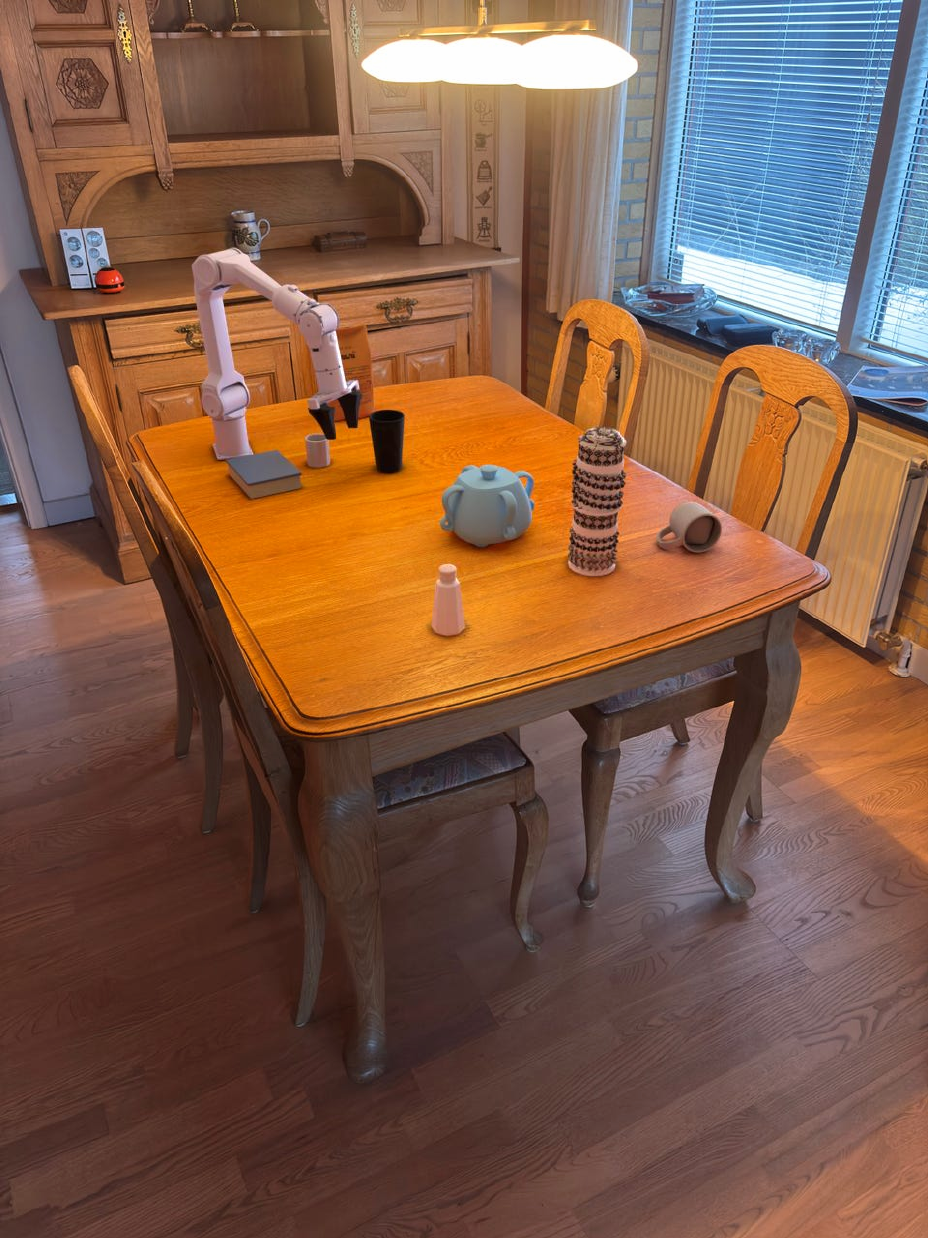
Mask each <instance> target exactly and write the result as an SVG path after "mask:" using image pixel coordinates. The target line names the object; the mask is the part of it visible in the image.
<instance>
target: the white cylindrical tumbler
mask: <svg viewBox="0 0 928 1238" xmlns="http://www.w3.org/2000/svg"><path fill="white" fill-rule="evenodd" d="M304 443H305V453H306V463H307V466H308V467H310V468H313V469H314V468H315V469H319V468H320V469H321V468H326V467H328V466H329V465H330V464H331V453H330V440H327V439H326V437H325V435H324V433H312V434H308V435H307V436H305V437H304Z"/></svg>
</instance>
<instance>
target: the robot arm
mask: <svg viewBox="0 0 928 1238" xmlns="http://www.w3.org/2000/svg"><path fill="white" fill-rule="evenodd" d="M191 269H192V276H193V281H194V282H193V293H194V298H195V304H196V308H197V314H198V320H199V325H200V331H201V336H202V341H203V346H204V352H205V357H206V364H207V368H208V374H207V376H206V377H205V379H204V380H203V382H202V384H201V390H202V394H201V406H202V408H203V410H204V412H205V414H206V415H207V416H208V417H209V419H211V421H212V426H213V433H214V435H213V436H214V440H215V443H213V444H212V448H213V451H214V453H215V456H216V459H217V461H222V460H228V459H233V458H238V457H243V456H248V455H253V454H254V452H253V450H252V448H251V444H250V443H249V436H248V430H247V429H248V428H247V422H246V413H247V407H248V406H249V404H250V402H251V394H250V390H249V388H248V387H247V385H246V382H245V377H244V375H243V374H241V373H240V372H238V371H237V370H236V369H235V364H234V358H233V352H232V346H231V341H230V334H229V330H228V329H229V328H228V323H227V317H226V311H225V306H224V299H223V298H224V297H223V296H224V295H225V294H226V292H227V291H228V290H229V289H230V288H231V286H233V285H239V284H242V285H244V286H246V288H248V289H251V290H252V291H254V292H256V293H257V294H260V295H261V296H263V297H265V298H266V299H268V300H270V301H271V302H272V306H273V309H274V311H276V312H277V313H278V314H280V315H282V316H283V317H285V318H286V319H288V320H289V321H290V322H292V323H294V324H295V325H297V328H298V330H299V332H300V335H302V336H303V338H304V339H305V342H306V346H307V347H308V349H309V352H310V357H311V360H312V366H313V370H314V374H315V375H314V376H315V379H316V384H317V388H318V389H317V390H318V391H317V392H316V393H315V394H314V395H313V396H312V397H310V398H309V399H307V405H308V408H307V409H308V413H309V414H310V415H311V417H312V418H313V419H314V420H315V421H316V422H317V424H318V426H319V428H320V430H321V431H322V434H324V435H325V437H326V439H327V440H329V441H336V440H337V431H336V425H335V421H334V414H335V407H329V406H328V405H327V403H329V402H331V401H333V400H335V399H338V401H339V403H340V405H341V407H342V410H343V413H344V416H345V419H344V420H345V424H346V426H347V428H348V429H358V427H359V419H358V412H359V406H360V402H361V399H362V392H361V391H356V390H358V389H359V385H358V380H350V381H347V382H346V380H345V375H344V370H343V366H342V360H341V356H340V351H339V346H338V341H337V336H336V330H337V329H338V328H340V316H339V313H338V311H337V310H336V308H334V307H333V306H332V305H331V304H330V303H329V302H322V303H320V302H317V300H316V299H314V298H311V297H309V296H307V295H306V294H305V293H303V292H302V291H300V290H298V289H299V287H298V286H297V285H295V284H284V285H281V284H279V283H278V282H277V281H276V280H274V279H273V278H272V277H270V276H269V275H268V274H267V273H265V272H264V271H263V270H262V269H260V268H259V267H257V266H256V265H255V264H254V263H252V262H251V259H250V255H248V254H246V253H244V252H242V251H241V250H240V249H238V248H237V247H230V248H227V249H225V250H221V251H216V252H213V253H209V254H202V255H199V256H198V257H197V258H196V259H195V260H194V262H193V263H192V264H191Z"/></svg>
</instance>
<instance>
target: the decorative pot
mask: <svg viewBox="0 0 928 1238" xmlns="http://www.w3.org/2000/svg"><path fill="white" fill-rule="evenodd" d="M521 478H526V485H525V486H524V485H523V483H522V481H521ZM534 485H535V480H534V476H532V474H530V473H529V472H527V471H523V470H518V471H516V472H515V471H514V472H513V471H511V470H510V469H508V468H506V467H503V466H497V465H494V464H483V465H481V466H480V467H477V466H476V465H472V464H471V465H470V464H469V465H466V466H464V467H463V468H462V470H461V473H460V474H459V475H457V477H456V479H455V481H454V482H453V484H452V485H451V486H448V487H447V488H446V489H445V490H443V492H442V494H441V505H442V508H443V511H444V517H442V518H441V519H440V521H439V527H440V529H441V530H442V531H446V532H451V531H452V532H453V533H454V534H455V535H456V536H457V537H459V538H460V539H461V540H463V541H465V542H466V543H468V544H472V545H474V546H475V547H477V548H485V547H488V545H492V544H493V545H495V544H500V543H504V542H509V541H513V540H514V541H515V540H516V539H518V538H519V537H520V536H522V535H523V534H524V533H525V532H526V531H527V530H528V529H529V527H530V526H531V523H532V521H533V514H532V513H533V511H534V509H535V507H536V505H535V504H536V503H535V502H534V500H533V499H531V495H532V494H533V489H534ZM446 523H447V524H446Z"/></svg>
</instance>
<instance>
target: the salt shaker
mask: <svg viewBox="0 0 928 1238" xmlns="http://www.w3.org/2000/svg"><path fill="white" fill-rule="evenodd" d="M438 572H439V573H438V577H439V578H438V579H437V580H436V581H435V586H434V597H433V608H432V617H431V628H432V629H433V632H434V633H435V634H436V635H441V636H445V637H451V636H456V635H457V636H458V635H460V634H461V633H462V631H464V629H465V628H466V623H465V614H464V606H463V597H462V589H461V582H460V581H459V580H458V578H457V566H455V565H454V564H451V563H444V564H442V565H439V567H438Z"/></svg>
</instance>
